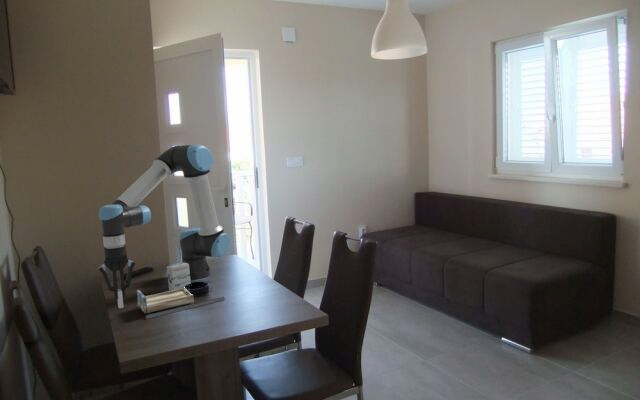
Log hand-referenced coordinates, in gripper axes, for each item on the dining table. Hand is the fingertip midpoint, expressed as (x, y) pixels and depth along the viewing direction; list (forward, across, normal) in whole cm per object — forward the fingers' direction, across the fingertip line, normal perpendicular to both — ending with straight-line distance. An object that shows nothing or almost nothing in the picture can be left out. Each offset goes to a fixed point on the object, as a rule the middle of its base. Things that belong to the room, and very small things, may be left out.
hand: (120, 306), depth 176 cm
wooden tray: (+4, +17, 0) cm, 17 cm away
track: (+4, +23, 0) cm, 23 cm away
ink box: (+4, +27, +17) cm, 33 cm away
